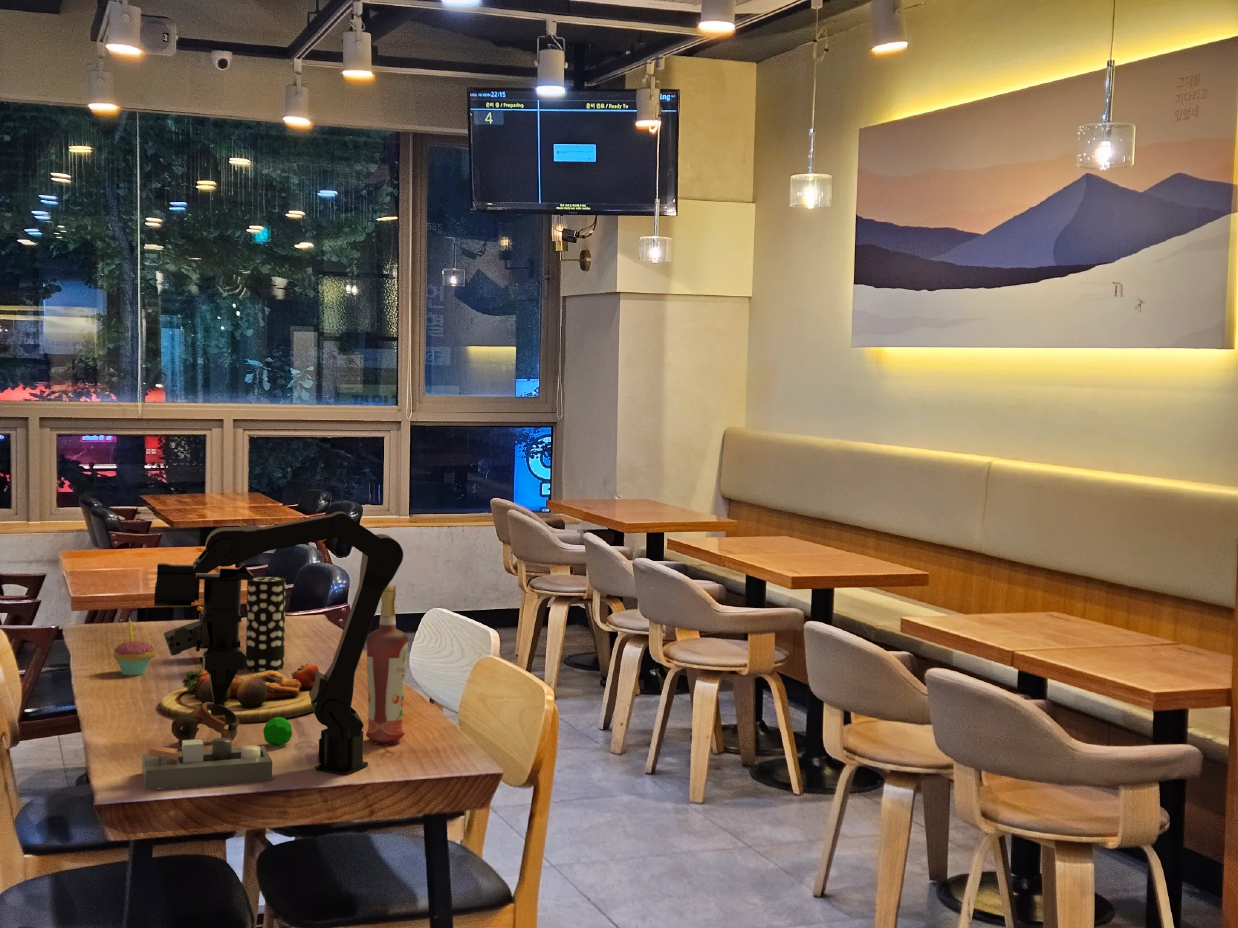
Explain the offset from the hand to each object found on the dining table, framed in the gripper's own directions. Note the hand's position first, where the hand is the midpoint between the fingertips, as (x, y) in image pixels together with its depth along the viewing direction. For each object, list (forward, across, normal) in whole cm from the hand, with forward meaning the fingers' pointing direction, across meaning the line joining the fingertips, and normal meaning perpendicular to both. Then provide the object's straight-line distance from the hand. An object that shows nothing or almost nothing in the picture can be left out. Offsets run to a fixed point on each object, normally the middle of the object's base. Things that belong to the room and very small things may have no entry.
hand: (217, 703), depth 211 cm
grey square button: (+9, 0, -3) cm, 10 cm away
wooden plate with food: (+12, -49, +11) cm, 52 cm away
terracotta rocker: (+8, 0, -8) cm, 11 cm away
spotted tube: (+12, -84, +19) cm, 87 cm away
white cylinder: (+10, 0, +6) cm, 12 cm away
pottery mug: (+12, -20, 0) cm, 23 cm away
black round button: (+9, 0, +1) cm, 9 cm away
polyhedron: (+12, -16, +12) cm, 23 cm away
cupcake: (+12, -85, -8) cm, 86 cm away
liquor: (+11, -13, +31) cm, 35 cm away
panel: (+12, 0, -1) cm, 12 cm away
